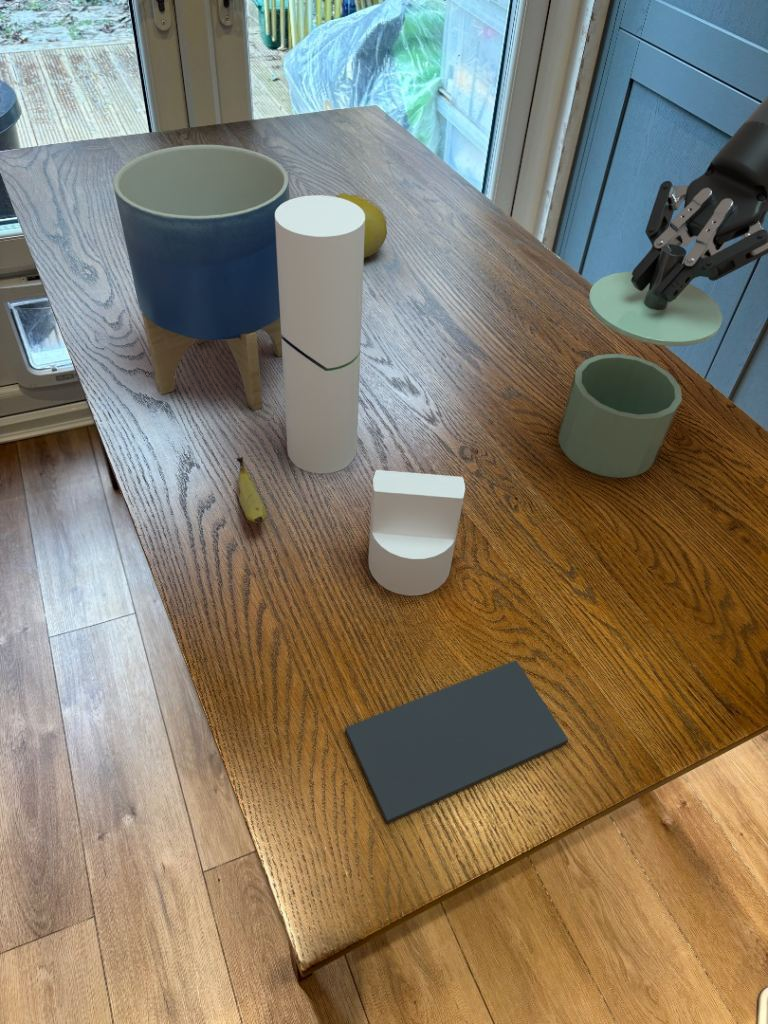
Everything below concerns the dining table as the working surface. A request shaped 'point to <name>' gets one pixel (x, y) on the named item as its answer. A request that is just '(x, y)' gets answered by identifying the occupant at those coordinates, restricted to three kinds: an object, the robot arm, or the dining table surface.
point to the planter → (204, 252)
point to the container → (320, 327)
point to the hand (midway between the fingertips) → (647, 292)
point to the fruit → (370, 222)
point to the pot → (618, 415)
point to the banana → (250, 496)
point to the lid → (656, 307)
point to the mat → (453, 739)
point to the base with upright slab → (413, 529)
